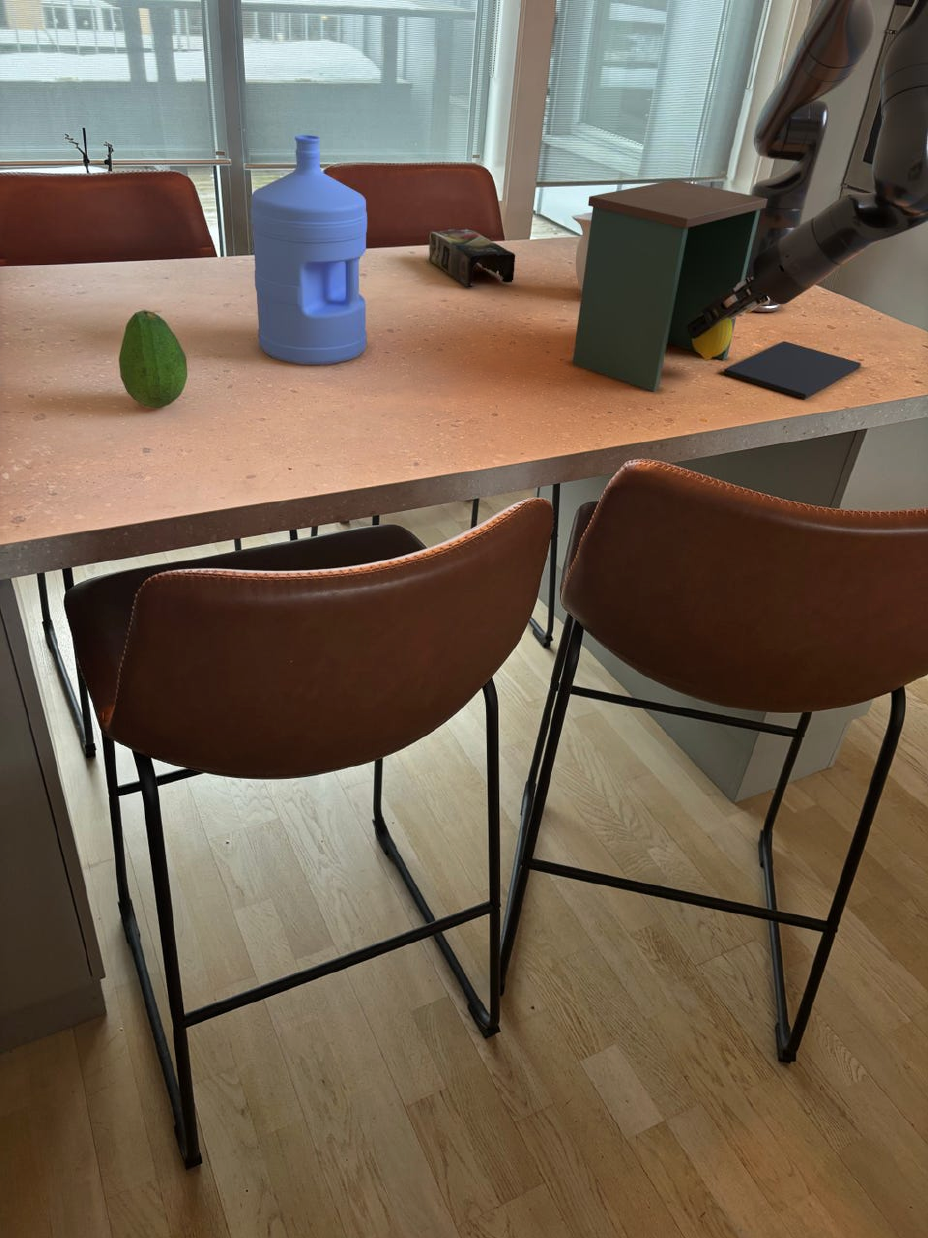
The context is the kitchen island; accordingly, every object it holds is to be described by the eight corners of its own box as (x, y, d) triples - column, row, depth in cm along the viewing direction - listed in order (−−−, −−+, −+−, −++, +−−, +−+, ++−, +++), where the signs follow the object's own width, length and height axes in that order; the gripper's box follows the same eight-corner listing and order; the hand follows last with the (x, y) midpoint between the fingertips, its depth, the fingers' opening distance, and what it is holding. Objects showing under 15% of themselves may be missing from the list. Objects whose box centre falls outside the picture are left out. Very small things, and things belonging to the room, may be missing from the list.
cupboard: (648, 333, 155) (675, 179, 142) (731, 358, 148) (767, 198, 134) (567, 363, 141) (588, 196, 128) (654, 393, 133) (687, 218, 120)
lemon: (703, 368, 136) (715, 312, 132) (679, 355, 140) (690, 300, 136) (733, 364, 138) (745, 308, 134) (709, 351, 142) (720, 297, 138)
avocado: (129, 421, 115) (115, 322, 108) (121, 397, 121) (106, 302, 114) (196, 414, 118) (186, 317, 111) (185, 391, 123) (175, 298, 117)
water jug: (238, 354, 136) (222, 137, 120) (291, 324, 148) (283, 123, 132) (337, 374, 132) (334, 152, 116) (383, 341, 144) (386, 136, 128)
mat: (782, 345, 154) (784, 340, 154) (859, 367, 148) (861, 362, 147) (723, 373, 142) (724, 368, 141) (804, 399, 135) (806, 394, 134)
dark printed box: (423, 258, 184) (425, 225, 181) (469, 257, 188) (472, 224, 184) (466, 289, 169) (468, 254, 166) (515, 287, 173) (518, 252, 170)
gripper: (809, 228, 129) (713, 296, 142) (760, 243, 120) (662, 314, 133) (835, 276, 130) (737, 340, 143) (788, 295, 120) (688, 362, 133)
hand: (701, 328), depth 138 cm, fingers closed on lemon, 5 cm apart
